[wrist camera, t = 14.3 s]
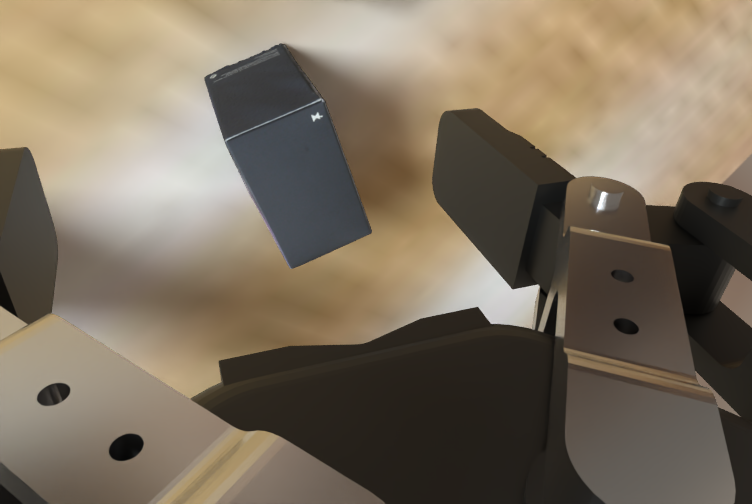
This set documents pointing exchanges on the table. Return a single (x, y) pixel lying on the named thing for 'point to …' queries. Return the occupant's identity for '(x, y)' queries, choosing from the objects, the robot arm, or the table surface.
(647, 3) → the table surface
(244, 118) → the small box
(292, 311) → the table surface
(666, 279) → the robot arm
